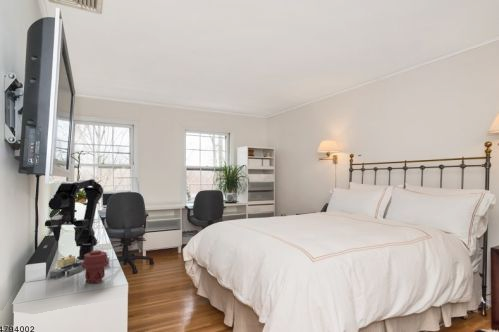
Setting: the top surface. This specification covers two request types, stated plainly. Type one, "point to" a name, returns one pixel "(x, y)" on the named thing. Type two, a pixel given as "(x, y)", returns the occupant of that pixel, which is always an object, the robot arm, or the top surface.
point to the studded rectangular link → (61, 270)
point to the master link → (65, 261)
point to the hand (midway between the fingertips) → (66, 241)
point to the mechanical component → (95, 265)
